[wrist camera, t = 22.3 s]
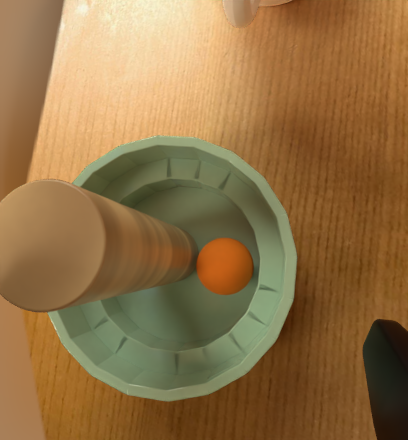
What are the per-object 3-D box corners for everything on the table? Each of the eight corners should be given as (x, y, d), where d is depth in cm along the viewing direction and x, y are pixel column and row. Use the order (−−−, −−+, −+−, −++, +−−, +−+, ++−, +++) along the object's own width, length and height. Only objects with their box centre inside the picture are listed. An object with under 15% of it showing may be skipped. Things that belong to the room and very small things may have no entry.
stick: (204, 233, 21) (119, 191, 9) (192, 288, 21) (87, 327, 8) (151, 222, 22) (0, 168, 9) (139, 275, 22) (-33, 295, 9)
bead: (259, 262, 21) (263, 299, 19) (210, 275, 22) (207, 313, 19) (241, 219, 20) (242, 253, 17) (190, 235, 21) (183, 270, 18)
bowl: (279, 383, 20) (284, 422, 16) (76, 352, 22) (23, 377, 17) (296, 169, 22) (306, 142, 17) (101, 157, 24) (59, 130, 19)
